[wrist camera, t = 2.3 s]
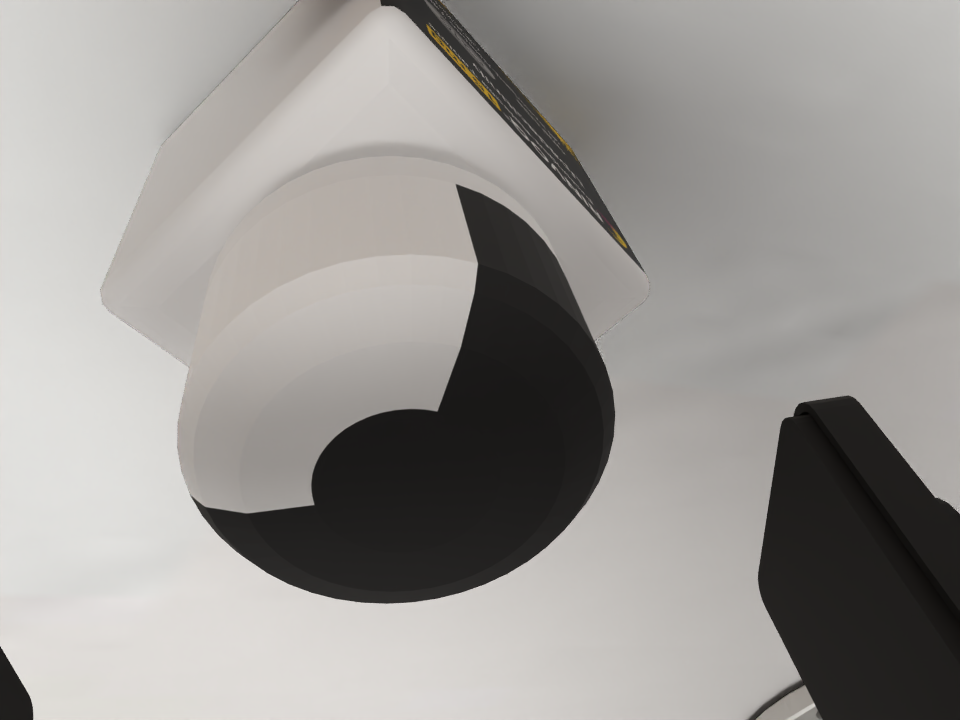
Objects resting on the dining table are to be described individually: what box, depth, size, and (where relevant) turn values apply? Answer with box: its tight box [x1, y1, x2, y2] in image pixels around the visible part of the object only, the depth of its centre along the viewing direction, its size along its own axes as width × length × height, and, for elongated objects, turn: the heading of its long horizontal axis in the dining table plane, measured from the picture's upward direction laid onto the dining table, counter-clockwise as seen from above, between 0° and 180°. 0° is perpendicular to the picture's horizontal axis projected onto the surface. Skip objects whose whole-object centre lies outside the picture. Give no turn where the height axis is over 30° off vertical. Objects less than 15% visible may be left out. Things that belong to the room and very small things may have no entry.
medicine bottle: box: [100, 0, 650, 604], centre depth 17 cm, size 7×7×12 cm
